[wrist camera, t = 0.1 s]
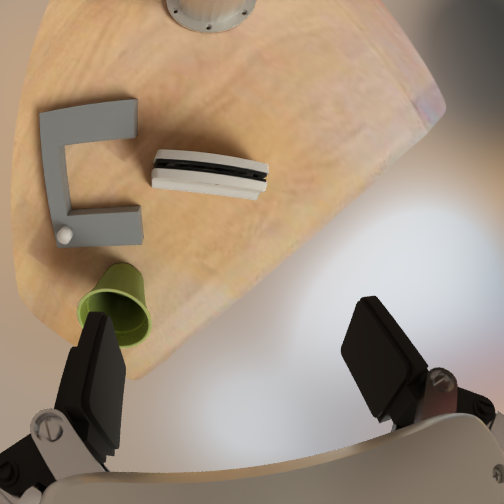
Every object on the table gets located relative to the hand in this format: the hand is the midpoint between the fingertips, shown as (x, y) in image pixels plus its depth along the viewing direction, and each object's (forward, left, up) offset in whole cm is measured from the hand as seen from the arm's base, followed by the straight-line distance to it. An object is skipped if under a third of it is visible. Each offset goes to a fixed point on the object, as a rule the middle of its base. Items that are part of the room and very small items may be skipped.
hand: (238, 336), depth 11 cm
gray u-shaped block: (+3, -17, -37) cm, 41 cm away
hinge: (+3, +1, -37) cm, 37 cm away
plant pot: (+22, -14, -37) cm, 45 cm away
